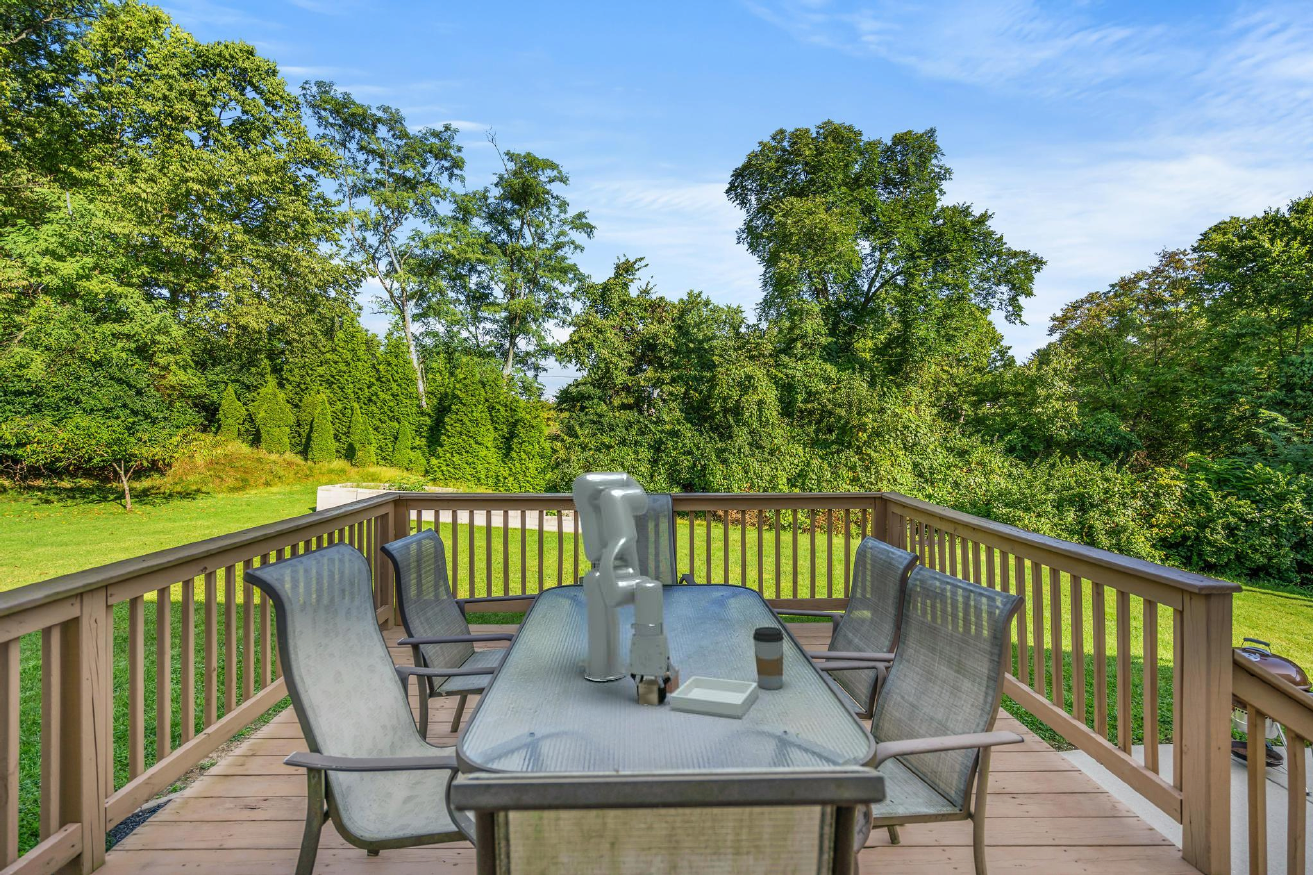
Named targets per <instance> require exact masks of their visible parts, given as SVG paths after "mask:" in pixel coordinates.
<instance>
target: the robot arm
mask: <svg viewBox="0 0 1313 875" xmlns="http://www.w3.org/2000/svg"><path fill="white" fill-rule="evenodd" d="M572 500H573V504H574V507H575V508H576V511H577V513H578V514H577V515H578V517H579V521H580V529H581V537H582V543H583V551H584V555H585V558H586V560H587V561H588V562H590V563H594V564H596V563H599V566H598V567H594V568H591V569H589V570H588V571H586V572H585V574H584V576H583V579H582V587H583V591H584V596H585V601H586V602H585V603H586V618H587V620H586V621H587V640H588V641H587V645H588V646H587V648H588V650H587V652H588V658H587V659H586V658H584V657H583V658H581V657H580V658H579V659H578V662H577V667H578V668H584V669H585V670H584V671H583V676H584V675H585V676H586V677H588V678H592V679H600V680H612V679H618V680H620V679H619V678H621V679H623V678H624V676H625V677H626V676H627V674H628V675H629V676H630V678H631V679H632V680H633V681H634V684H635V685H636V696H637V697H638V702H639V685H638V684H639V683H641V682H642V681H643V680H645V677H654V678H655V677H657V678H658V682H659V688H658V703H660V704H663V703H664V702H665V701H666V699H667V694H668V693H666V685H667V684H668V683H669V682H670V681H671V680H672V679H673V678H674V677H675V676H676V675H678V673H679V671H678V672H677V671H676V669H677V668H675V667H674V665H673V663H672V662H671V661H672V660H671V652H670V650H671V649H670V645H669V641H668V635H667V633H665V625H664V624H665V620H664V618H665V617H664V597H663V593H664V592H663V584H662V583H661V582H660V581H659V580H656V579H651V578H650V577H649V576H646V575H641V571H640V566H639V565H640V564H639V559H638V557H639V556H638V552H637V550H638V549H637V544H636V542H637V540H638V534H637V529H636V525H635V524H636V523H635V521H634V517H633V516H641V515H643V514H644V515H645V513H646V512H647V510H648V508H649V498H648V494H647V493H646V491H645V489H644V488H643V487H642V485H641V484H640V483H639V482H637V480H636V479H635V478H633V477H632V476H631V475H630V474H629V473H627V472H626V471H625V472H624V471H592V472H584V473H581V474H579V475H577V476H576V477H575V479H574V480H573V484H572ZM614 562H617V563H618V564H617V565H614ZM631 606H634V607H633V608H634V622H632V623H630V629H633V630H634V633H632V635H631V641H630V648H629V662H628V663H627V665H626V666H625V667H624V666H622V654H621V653H622V651H621V625H620V624H621V623H620V622H621V621H620V620H621V619H620V617H621V616H620V613H619V610H618V608H624V607H631ZM666 672H670V675H669V676H667V677H666ZM660 704H659V705H660Z"/></svg>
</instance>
